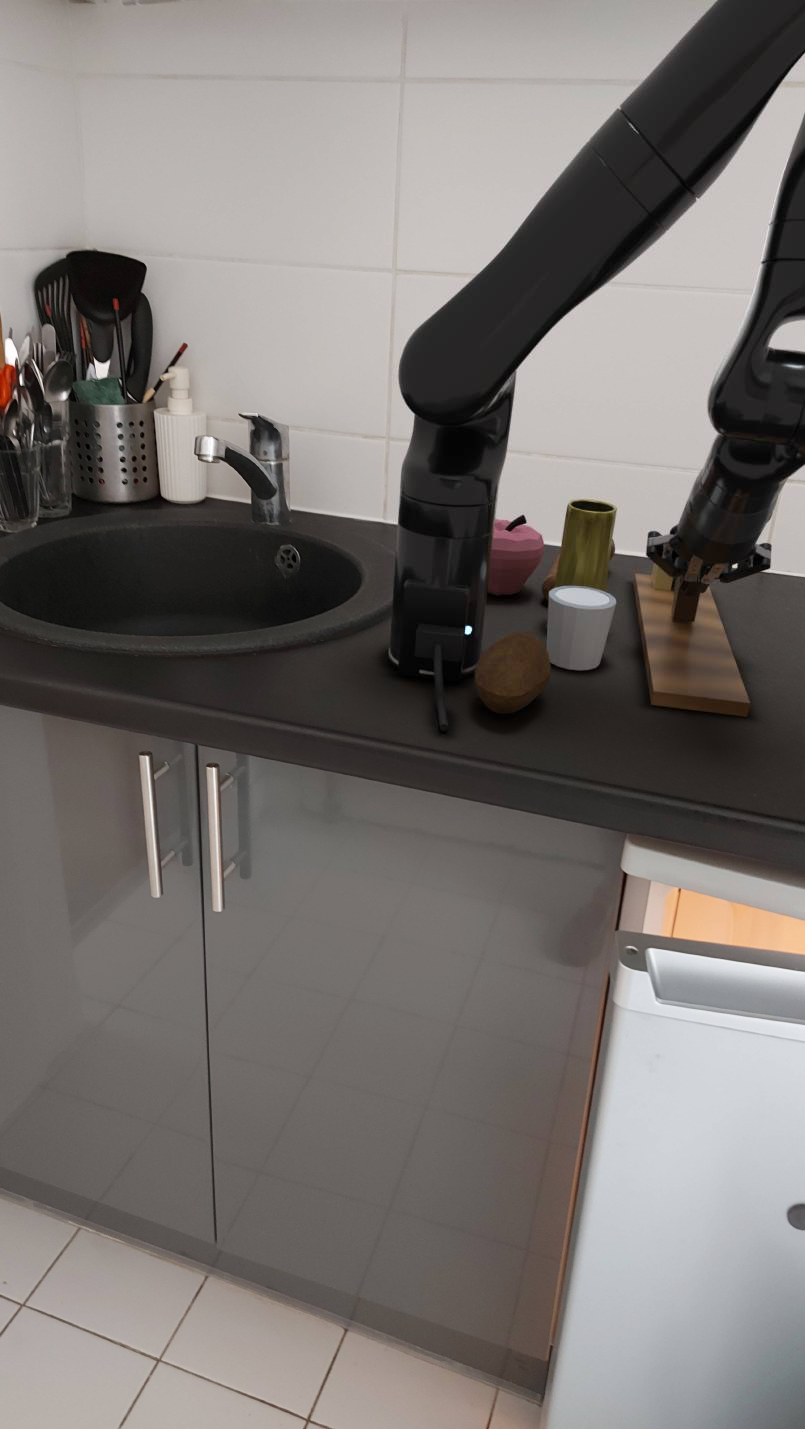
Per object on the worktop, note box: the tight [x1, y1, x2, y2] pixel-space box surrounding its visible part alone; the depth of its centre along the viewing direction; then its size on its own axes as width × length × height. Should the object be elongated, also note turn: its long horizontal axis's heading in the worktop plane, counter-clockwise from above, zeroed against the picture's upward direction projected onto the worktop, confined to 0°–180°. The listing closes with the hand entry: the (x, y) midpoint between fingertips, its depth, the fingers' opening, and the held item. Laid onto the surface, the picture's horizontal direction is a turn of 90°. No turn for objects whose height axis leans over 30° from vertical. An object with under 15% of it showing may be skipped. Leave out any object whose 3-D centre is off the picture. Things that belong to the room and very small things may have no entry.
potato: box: [474, 630, 552, 715], centre depth 93 cm, size 7×12×7 cm, turn 164°
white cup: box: [546, 586, 617, 671], centre depth 104 cm, size 7×7×7 cm
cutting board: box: [632, 572, 751, 718], centre depth 112 cm, size 36×9×2 cm, turn 171°
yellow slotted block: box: [650, 562, 673, 591], centre depth 124 cm, size 5×5×4 cm
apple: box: [487, 514, 545, 597], centre depth 120 cm, size 10×9×10 cm
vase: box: [546, 498, 618, 629], centre depth 109 cm, size 6×6×14 cm
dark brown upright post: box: [671, 575, 700, 622], centre depth 119 cm, size 18×2×9 cm, turn 171°
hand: (690, 588), depth 110 cm, fingers closed
